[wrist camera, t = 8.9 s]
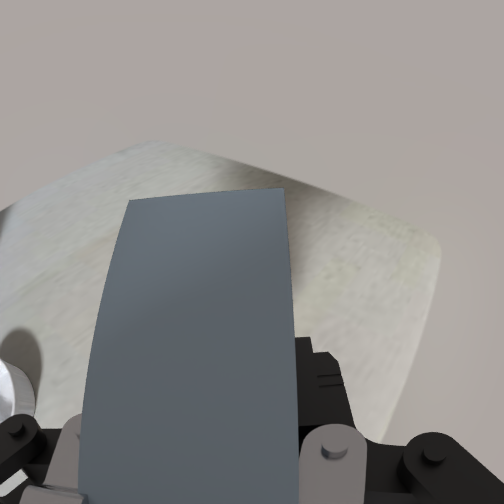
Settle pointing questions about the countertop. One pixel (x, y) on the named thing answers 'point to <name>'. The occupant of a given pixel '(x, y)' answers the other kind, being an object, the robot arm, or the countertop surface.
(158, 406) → the blue-grey rectangular block
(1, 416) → the ramekin
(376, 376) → the countertop surface
